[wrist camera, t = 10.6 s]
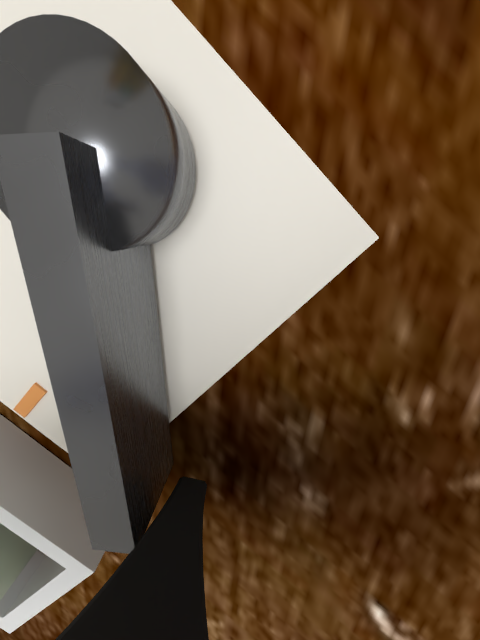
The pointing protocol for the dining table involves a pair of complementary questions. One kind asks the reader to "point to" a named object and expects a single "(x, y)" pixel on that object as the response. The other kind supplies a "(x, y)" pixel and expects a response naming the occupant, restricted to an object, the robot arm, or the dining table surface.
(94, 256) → the dial lever
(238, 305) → the dial panel
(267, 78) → the dining table surface
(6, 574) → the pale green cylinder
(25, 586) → the tool holder
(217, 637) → the dining table surface
